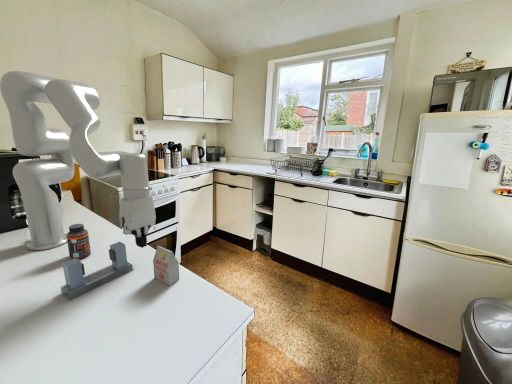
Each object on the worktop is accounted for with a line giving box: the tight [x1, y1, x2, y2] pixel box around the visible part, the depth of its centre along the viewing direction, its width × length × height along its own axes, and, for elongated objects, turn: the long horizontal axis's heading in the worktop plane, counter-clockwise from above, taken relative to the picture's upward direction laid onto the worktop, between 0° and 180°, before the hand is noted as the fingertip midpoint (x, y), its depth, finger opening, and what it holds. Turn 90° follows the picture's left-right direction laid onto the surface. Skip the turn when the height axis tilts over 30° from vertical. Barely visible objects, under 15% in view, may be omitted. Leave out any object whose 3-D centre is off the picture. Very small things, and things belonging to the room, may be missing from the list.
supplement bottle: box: [66, 223, 92, 260], centre depth 81 cm, size 6×6×11 cm
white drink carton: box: [152, 245, 180, 287], centre depth 71 cm, size 4×7×10 cm, turn 58°
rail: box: [60, 258, 134, 301], centre depth 69 cm, size 5×17×9 cm, turn 149°
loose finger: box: [108, 241, 128, 269], centre depth 73 cm, size 3×4×7 cm
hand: (141, 245), depth 80 cm, fingers closed
